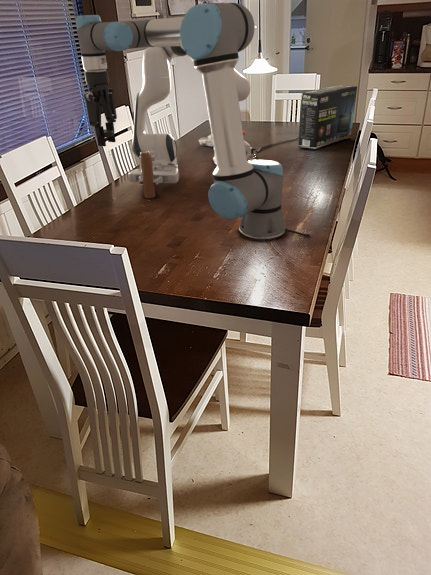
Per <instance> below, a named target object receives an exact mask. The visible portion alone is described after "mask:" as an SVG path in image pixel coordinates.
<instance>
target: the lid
mask: <svg viewBox="0 0 431 575" xmlns="http://www.w3.org/2000/svg"><path fill="white" fill-rule="evenodd" d="M103 129H104V135H105V139H108V137H112V136H113V130H111V129H106V128H103Z"/></svg>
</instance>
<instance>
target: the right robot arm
mask: <svg viewBox="0 0 431 575" xmlns="http://www.w3.org/2000/svg"><path fill="white" fill-rule="evenodd" d="M75 22H76V32H77V38H78V43H79V48H80V49H79V50H80V53H81V62H82V68H83V70H84V79H85V83H86V85H88V92H87V93H84V94H83V98H84V100H85V103H86V111H87V115H88V123H89V126H91V127H94V131H95V136H96V138H97V139H96V140H97V146H98V147H107V142H108V143H116V141H117V140H116V134H115V123H116V122H117V118H118V116H117V109H116V102H115V101H116V100H115V89H114V88H109V86H108V84H109V83H110V77H109V71H108V70H107V69H108V62H107V55H106V51H114V52H124V51H127V50H132V49H141V48H142V49H143V48H148V47H163V46H182V48H183V50H184V52H186V53H187V55H186V56H188V57H189V58H190V57H191V58H192V59H193V61H194V63H193V67H194V69H195V70H196V71H198V72H199V73H200V74H201V78H202V79H201V80H202V84H203V90H204V97H205V102H206V103H205V104H206V108H207V115H208V121H209V126H210V134H212V140H213V146H214V147H213V151H214V155H215V158H216V164H215V165H216V167H215V168H214V170H213V172H212V178H213V184H211V186H210V188H209V190H208V193H207V196H208V201H209V204H210V207H211V209H212V211H214V212H215V213H216V214H217V215H218V216H219V217H220V218H222V219H225V220H227V221H233V220H237V219H240V218H241V220H240V222H239V226H238V232H239V235H240V236H241V237H242V238H244V239H247V240H250V241H254V242H271V241H277V240H279V239H281V238H283V237H285V235H286V234H287V232H288V233H292V234H296V235H299V236H302V237H309V238H310V235H311V234H310V233H303V232H299V231H296V230H294V229H289V228H287V223H286V221H285V216H284V214H283V210H282V200H283V183H284V169H283V165H282V164H281V163H280V162H278V161H275V160H270V159H253V160H248V161H247V157H246V150H245V143H244V140H245V135H243V131H244V130H243V123H242V114H241V109H240V101H239V99H238V92H237V85H236V78H235V71H234V69H235V67H236V66H237V64H238V62H239V61H240V58H239V57H240V56H239V53H241V52H243V51H244V50H245V49H247V48H248V47H249V46H250V44H251V43H252V41H253V38H254V36H255V30H256V25H255V20H254V16H253V14H252V13H251V11H250V10H249V9H248V8H247V7H246V6H245V5H243V4H241V3H238V2H204V3H199V4H195V5H193V6H191V7H190V8H189V9H188V10H187V11H186V12H185V14H184V16H174V17H166V18H165V17H164V18H154V19H143V20H125V21H124V20H123V21H105V22H104V21H103V22H102V19H101V16H100V15H99V14H89V15H87V14H83V15H77V16H76V19H75ZM193 61H192V62H193ZM102 112H103V114H104V118H105V120H106V122H105V123H104V124H105V128H104V126H103V125H102ZM104 129H111V130H113V136H112V137H108V138H107V142H106V138H105V135H104Z"/></svg>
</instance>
